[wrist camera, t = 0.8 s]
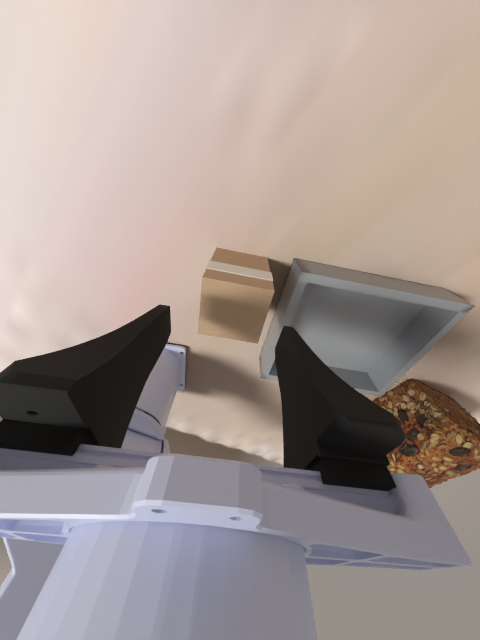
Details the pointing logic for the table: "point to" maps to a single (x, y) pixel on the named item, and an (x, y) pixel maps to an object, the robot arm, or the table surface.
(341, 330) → the bin
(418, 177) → the table surface
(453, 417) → the bread
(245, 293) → the carton
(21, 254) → the table surface
